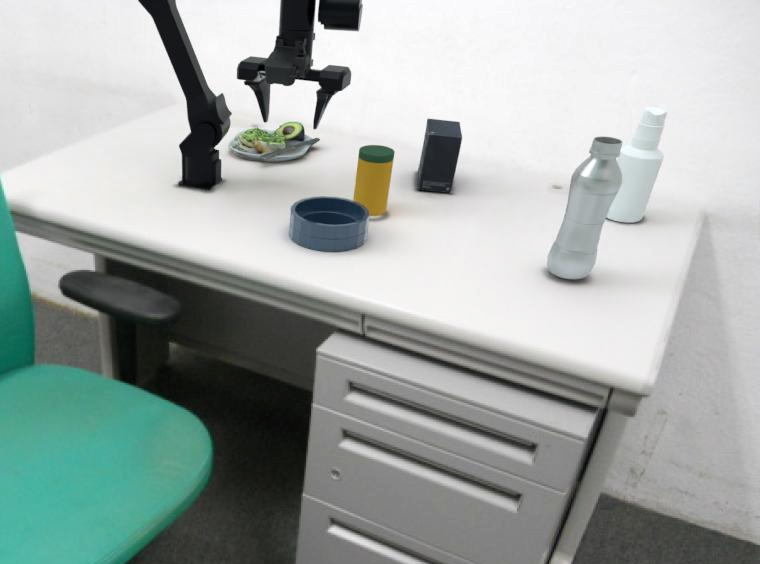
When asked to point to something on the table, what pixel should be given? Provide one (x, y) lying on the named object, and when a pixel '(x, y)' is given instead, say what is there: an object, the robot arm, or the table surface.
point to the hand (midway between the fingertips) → (290, 125)
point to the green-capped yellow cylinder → (373, 178)
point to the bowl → (329, 223)
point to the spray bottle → (639, 167)
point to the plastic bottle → (586, 210)
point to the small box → (439, 155)
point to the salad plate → (272, 143)
